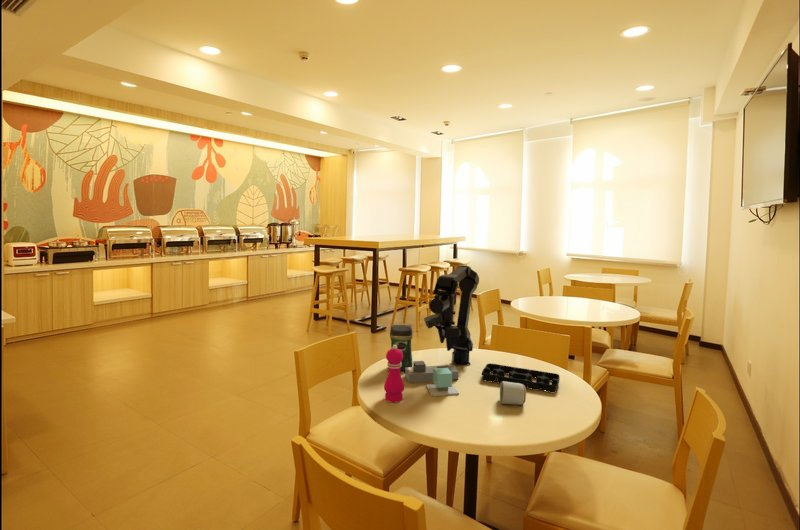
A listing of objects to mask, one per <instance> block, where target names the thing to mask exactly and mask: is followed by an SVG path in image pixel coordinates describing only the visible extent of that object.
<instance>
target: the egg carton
mask: <svg viewBox="0 0 800 530" xmlns="http://www.w3.org/2000/svg"><path fill="white" fill-rule="evenodd" d="M490 372H492V373H490ZM506 373H509V374H508V376H505V374H506ZM481 376H482V381H484V380H486V381H485V382H488V381H492V382H491V383H494V382H495V381H496V382H499V383H498V384H500V383H501V382H502V381H505V382H513V383H520V384H523V385H524V386H525V387H526V388H527V387H528V388H527V389H529V388H532V389H531V390H533V389H540V388H542V389H540V390H542V391H543V390H546V391H550V392H555V391H556V392H557V389H558V387H559V384H560V374H558V373H555V372H554V373H553V372H548V371H542V370H536V369H528V368H523V367H516V366H511V365H510V366H509V365H503V364H497V363H487V364H486V365H485V366H484V368H483V369H482V371H481ZM532 377H536V378H537V379H536V378H535V379H536V381H533V378H532ZM549 380H552V381H551V382H552V384H550V381H549ZM493 381H494V382H493ZM550 392H549V393H550ZM556 392H555V393H556Z"/></svg>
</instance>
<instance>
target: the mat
mask: <svg viewBox="0 0 800 530" xmlns="http://www.w3.org/2000/svg"><path fill="white" fill-rule="evenodd" d="M425 387H426V388H427V389H428V392H429V394H431V395H430V396H432V397H444V396H445V395H446V396H458V395H460V392H459V391H458V389H457V388H456V387H455V386H454V384H453V383H452V387H448V391H438V389H437V388H436V385H435V384H434V383H433V384H425ZM446 396H445V397H446Z"/></svg>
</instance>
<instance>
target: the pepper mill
mask: <svg viewBox="0 0 800 530" xmlns="http://www.w3.org/2000/svg"><path fill="white" fill-rule="evenodd" d="M392 348H393V349H391V348H390V349H388V350H387V352H386V354H385V359H386V360H387V365H386V366H387V368H388V373H387V376H386V378H385V381H384V384H383V389H384V391H385V396H384V399H385V401H386V402H388V403H399V402H401V401H403V399H404V393H403V392H404V390H405V383H404V380H403V378H402V376H401V375H402V374H401V371H400V367H401V366H402V365H401V364H402V363H401V361H402V359H403V353H402V351H401V350H399V349H397V345H393V346H392Z"/></svg>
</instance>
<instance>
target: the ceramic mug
mask: <svg viewBox="0 0 800 530" xmlns="http://www.w3.org/2000/svg"><path fill="white" fill-rule="evenodd" d="M526 388H527V387H526V385H525V386H524V385H523V384H520V383H513V382H505V381H502V382H501V384H500V386H499V401H500V404H504V405H517V406H518V405H519V406H521V405H524V404H525V403H526V399H527V389H526Z"/></svg>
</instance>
